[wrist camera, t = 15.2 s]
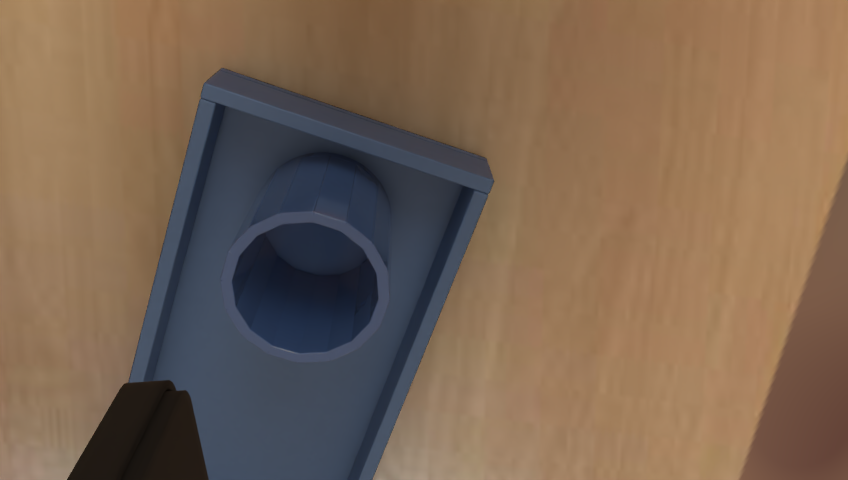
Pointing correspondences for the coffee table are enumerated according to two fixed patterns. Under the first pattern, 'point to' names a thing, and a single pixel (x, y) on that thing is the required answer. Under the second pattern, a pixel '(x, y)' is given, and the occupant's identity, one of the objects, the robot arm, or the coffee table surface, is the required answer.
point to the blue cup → (312, 260)
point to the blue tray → (246, 363)
